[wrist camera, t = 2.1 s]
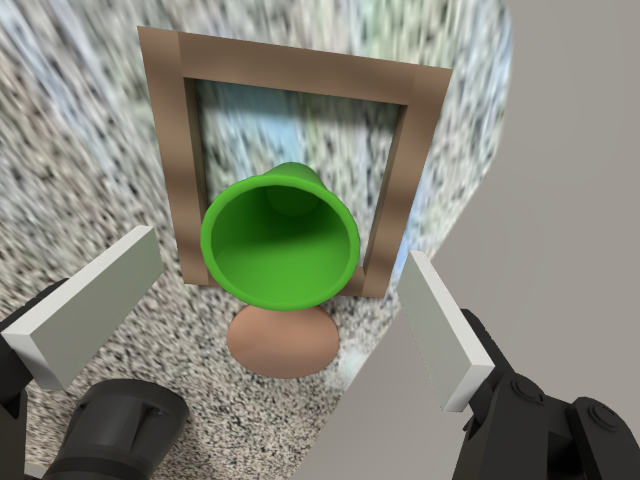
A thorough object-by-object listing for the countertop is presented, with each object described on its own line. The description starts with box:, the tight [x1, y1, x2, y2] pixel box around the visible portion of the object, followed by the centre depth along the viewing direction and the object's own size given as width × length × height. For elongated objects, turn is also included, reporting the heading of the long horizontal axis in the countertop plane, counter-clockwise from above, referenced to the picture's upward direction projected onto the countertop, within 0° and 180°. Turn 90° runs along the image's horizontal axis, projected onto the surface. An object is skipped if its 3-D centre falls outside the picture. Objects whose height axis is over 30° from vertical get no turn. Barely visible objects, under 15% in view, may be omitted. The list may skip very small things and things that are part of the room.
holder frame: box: [137, 26, 453, 298], centre depth 24 cm, size 21×21×2 cm
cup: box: [200, 162, 360, 312], centre depth 20 cm, size 9×9×11 cm
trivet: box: [227, 304, 339, 379], centre depth 34 cm, size 14×14×1 cm
